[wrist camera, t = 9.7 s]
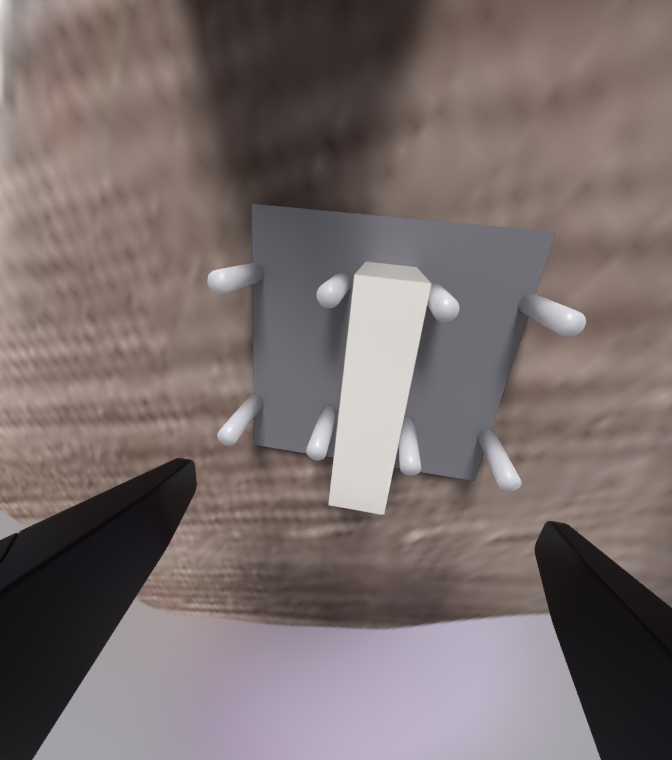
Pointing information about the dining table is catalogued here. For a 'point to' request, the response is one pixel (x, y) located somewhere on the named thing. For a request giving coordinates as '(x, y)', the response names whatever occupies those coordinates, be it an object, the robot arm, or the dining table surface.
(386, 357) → the tile
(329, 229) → the rack
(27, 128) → the dining table surface
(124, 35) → the dining table surface
